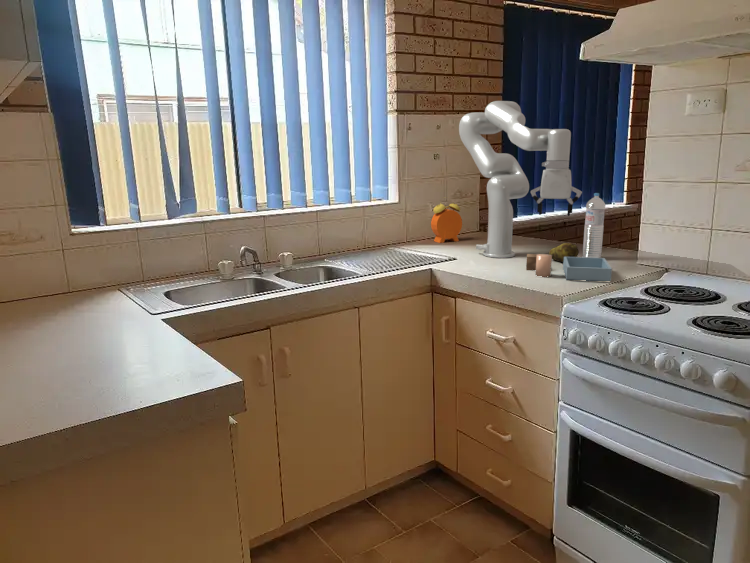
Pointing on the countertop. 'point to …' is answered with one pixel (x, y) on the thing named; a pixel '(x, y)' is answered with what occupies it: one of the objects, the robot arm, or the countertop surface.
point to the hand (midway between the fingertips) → (554, 214)
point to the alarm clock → (446, 223)
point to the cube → (531, 262)
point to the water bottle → (594, 227)
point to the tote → (587, 269)
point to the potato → (564, 251)
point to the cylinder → (543, 265)
